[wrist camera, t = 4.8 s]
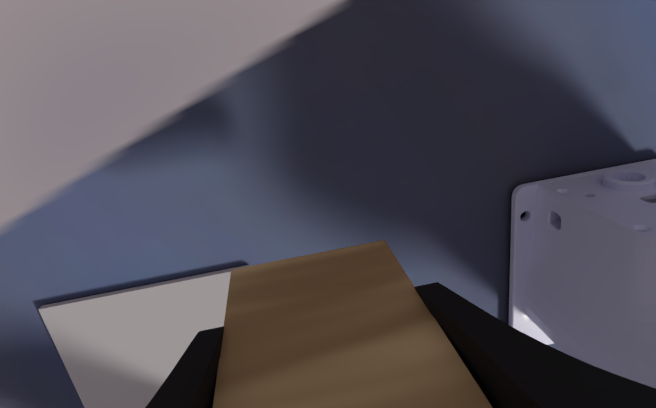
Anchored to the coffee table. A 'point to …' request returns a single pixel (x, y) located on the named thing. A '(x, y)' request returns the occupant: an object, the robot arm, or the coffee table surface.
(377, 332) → the ochre tile
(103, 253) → the coffee table surface
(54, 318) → the felt strip
